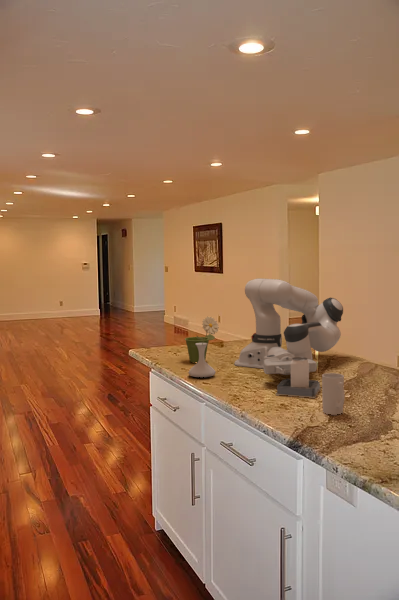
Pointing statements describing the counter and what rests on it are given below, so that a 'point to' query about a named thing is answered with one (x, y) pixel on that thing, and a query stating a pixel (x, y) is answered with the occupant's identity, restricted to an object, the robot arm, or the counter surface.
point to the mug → (333, 393)
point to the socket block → (298, 389)
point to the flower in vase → (202, 367)
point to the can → (300, 372)
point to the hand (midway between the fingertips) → (295, 371)
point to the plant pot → (195, 348)
